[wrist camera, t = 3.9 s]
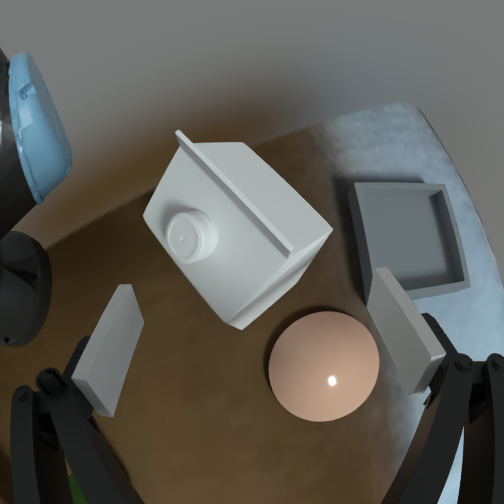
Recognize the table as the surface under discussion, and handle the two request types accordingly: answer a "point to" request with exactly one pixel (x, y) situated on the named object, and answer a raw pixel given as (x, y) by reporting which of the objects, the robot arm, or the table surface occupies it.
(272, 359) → the peach flat disc
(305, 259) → the milk carton
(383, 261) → the square tray
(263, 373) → the table surface
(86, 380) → the robot arm
